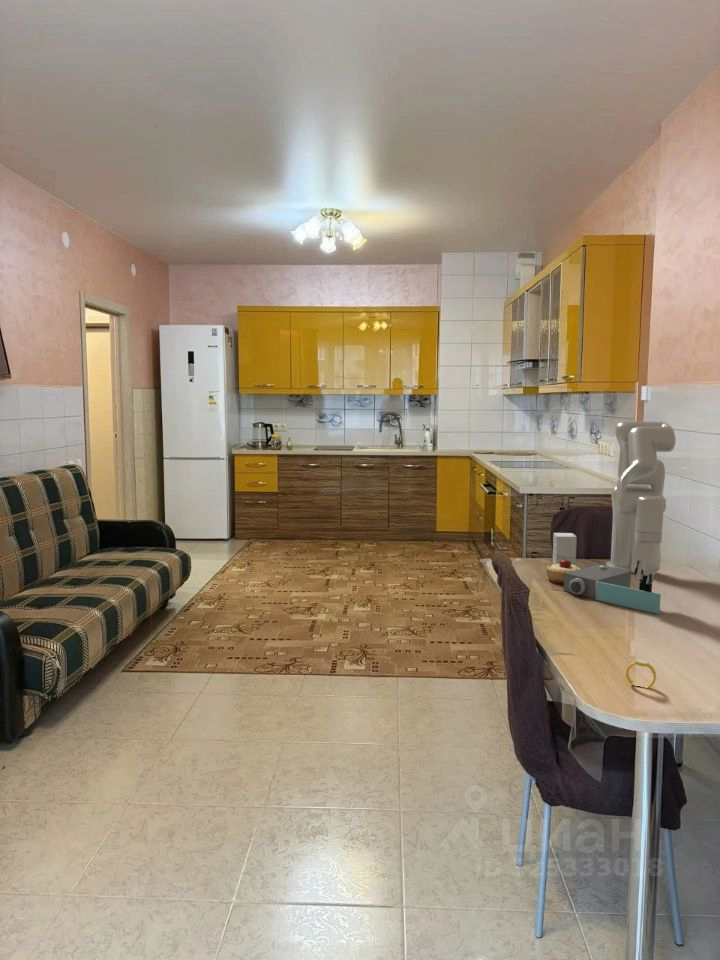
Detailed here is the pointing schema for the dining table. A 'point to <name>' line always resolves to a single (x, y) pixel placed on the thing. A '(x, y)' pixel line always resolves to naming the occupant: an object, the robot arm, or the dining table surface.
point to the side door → (628, 597)
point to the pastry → (560, 570)
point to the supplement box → (564, 547)
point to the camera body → (594, 579)
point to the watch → (641, 663)
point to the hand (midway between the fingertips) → (645, 595)
